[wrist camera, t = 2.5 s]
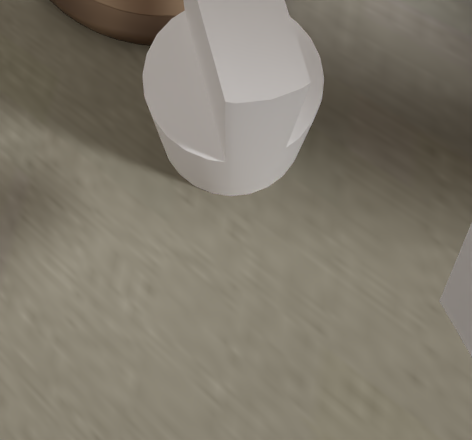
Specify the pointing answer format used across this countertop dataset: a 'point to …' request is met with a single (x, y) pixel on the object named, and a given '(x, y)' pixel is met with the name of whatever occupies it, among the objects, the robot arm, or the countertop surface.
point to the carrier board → (123, 17)
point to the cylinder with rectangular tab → (233, 92)
